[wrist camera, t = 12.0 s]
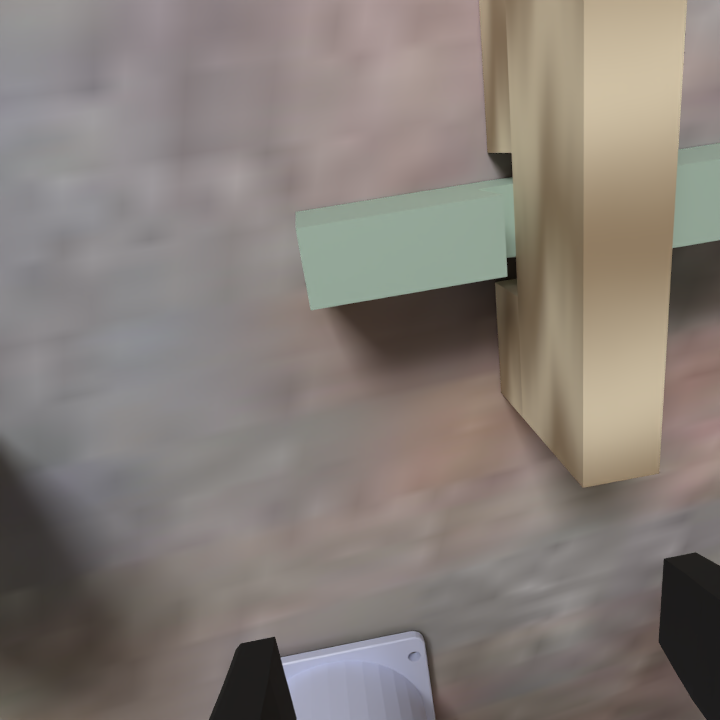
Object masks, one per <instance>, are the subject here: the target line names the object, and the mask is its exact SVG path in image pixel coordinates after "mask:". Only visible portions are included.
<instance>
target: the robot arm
mask: <svg viewBox="0 0 720 720" xmlns="http://www.w3.org/2000/svg"><path fill="white" fill-rule="evenodd" d="M659 643H660V645H661V647H662V649H663V650H664V652H665V654H666V656H667V658H668V659H669V661H670V663H671V665H672V666H673V668H674V670H675V672H676V673H677V675H678V677H679V678H680V680H681V682H682V683H683V685H684V687H685V688H686V690H687V692H688V693H689V695H690V697H691V698H692V700H693V701H694V703H695V704H696V705H697V707H698V708H699V710H700V711H701V712H702V714H703V715H704V717H705V718H706V719H707V720H720V566H719V565H717V564H715V563H714V562H712V561H710V560H708V559H707V558H705V557H703V556H701V555H699V554H698V553H691V554H686V555H681V556H676V557H671V558H666V559H664V565H663V581H662V597H661V613H660V629H659ZM412 652H415V653H412ZM209 720H436V719H435V712H434V705H433V698H432V691H431V684H430V677H429V669H428V662H427V655H426V648H425V642H424V639H423V636H422V634H420V633H419V632H416V631H409V632H404V633H399V634H394V635H389V636H384V637H379V638H374V639H369V640H364V641H360V642H355V643H350V644H345V645H340V646H335V647H330V648H325V649H320V650H315V651H310V652H305V653H300V654H295V655H290V656H285V657H280V654H279V650H278V646H277V643H276V639H275V637H271V638H266V639H261V640H256V641H251V642H246V643H241V644H240V645H239V647H238V648H237V649H236V651H235V654H234V657H233V660H232V662H231V665H230V668H229V671H228V673H227V676H226V679H225V681H224V684H223V686H222V689H221V692H220V694H219V697H218V699H217V702H216V704H215V706H214V709H213V711H212V714H211V716H210V718H209Z"/></svg>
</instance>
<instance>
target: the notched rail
mask: <svg viewBox="0 0 720 720" xmlns="http://www.w3.org/2000/svg"><path fill="white" fill-rule="evenodd" d="M296 233H297V238H298V244H299V249H300V255H301V260H302V265H303V271H304V276H305V282H306V287H307V292H308V298H309V303H310V309H311V310H316V309H321V308H327V307H333V306H339V305H345V304H350V303H356V302H362V301H368V300H374V299H380V298H385V297H391V296H397V295H403V294H409V293H414V292H420V291H426V290H432V289H438V288H444V287H449V286H455V285H461V284H467V283H473V282H479V281H484V280H490V279H496V278H502V277H507V258H509V257H515V256H516V244H515V220H514V197H513V177H508V178H502V179H495V180H489V181H483V182H477V183H471V184H465V185H459V186H452V187H446V188H440V189H434V190H428V191H422V192H416V193H409V194H403V195H397V196H391V197H385V198H379V199H373V200H366V201H360V202H354V203H348V204H342V205H336V206H330V207H323V208H317V209H311V210H305V211H299V212H296ZM717 240H720V143H716V144H710V145H704V146H698V147H692V148H686V149H680V150H678V162H677V178H676V195H675V212H674V229H673V246H672V248H676V247H682V246H688V245H694V244H700V243H706V242H711V241H717Z"/></svg>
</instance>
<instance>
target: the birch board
mask: <svg viewBox="0 0 720 720" xmlns="http://www.w3.org/2000/svg"><path fill="white" fill-rule="evenodd" d="M479 9H480V27H481V44H482V62H483V80H484V97H485V115H486V133H487V150H488V153H512V173H513V197H514V220H515V244H516V268H517V279H511V280H505V281H499V282H495V292H496V309H497V327H498V345H499V362H500V380H501V393H502V394H503V395H504V396H505V398H506V399H507V400H508V401H509V402H510V403H511V405H512V406H513V407H514V408H515V409H516V410H517V412H518V413H519V414H520V415H521V416H522V417H523V419H524V420H525V421H526V422H527V423H528V424H529V426H530V427H531V428H532V429H533V430H534V431H535V432H536V434H537V435H538V436H539V437H540V438H541V439H542V441H543V442H544V443H545V444H546V445H547V446H548V448H549V449H550V450H551V451H552V452H553V453H554V455H555V456H556V457H557V458H558V459H559V460H560V462H561V463H562V464H563V465H564V466H565V467H566V469H567V470H568V471H569V472H570V473H571V474H572V476H573V477H574V478H575V479H576V480H577V481H578V483H579V484H580V485H581V486H582V487H583V488H585V487H590V486H595V485H601V484H606V483H611V482H617V481H622V480H627V479H632V478H638V477H643V476H648V475H654V474H659V466H660V449H661V432H662V415H663V398H664V381H665V364H666V347H667V330H668V314H669V297H670V280H671V263H672V246H673V229H674V212H675V195H676V178H677V162H678V145H679V128H680V111H681V94H682V77H683V60H684V43H685V26H686V10H687V0H479Z"/></svg>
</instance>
